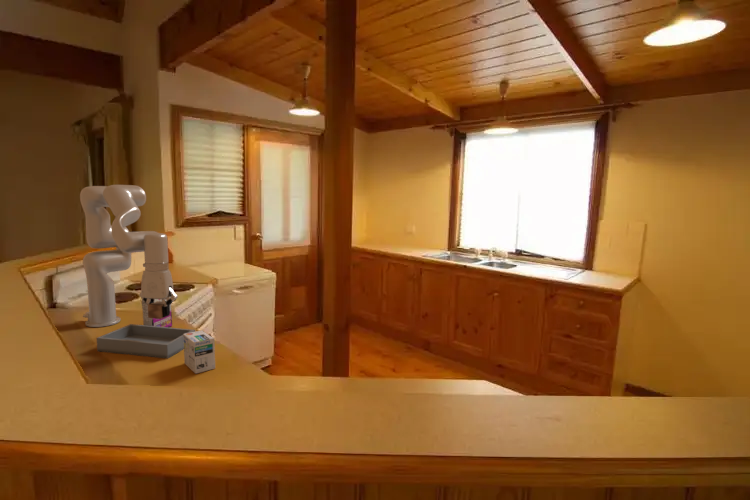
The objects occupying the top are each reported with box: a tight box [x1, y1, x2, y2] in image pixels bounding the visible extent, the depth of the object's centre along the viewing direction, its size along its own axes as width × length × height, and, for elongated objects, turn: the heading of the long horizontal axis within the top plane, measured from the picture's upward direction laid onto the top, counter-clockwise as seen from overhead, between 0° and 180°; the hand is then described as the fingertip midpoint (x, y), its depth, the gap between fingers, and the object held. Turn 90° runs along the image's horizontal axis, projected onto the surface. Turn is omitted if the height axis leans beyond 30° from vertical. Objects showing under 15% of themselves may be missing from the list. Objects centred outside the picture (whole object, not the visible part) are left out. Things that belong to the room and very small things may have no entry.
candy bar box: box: [141, 297, 173, 328], centre depth 163 cm, size 11×5×16 cm, turn 168°
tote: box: [96, 323, 196, 360], centre depth 146 cm, size 28×16×5 cm, turn 81°
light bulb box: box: [183, 329, 216, 374], centre depth 131 cm, size 11×7×11 cm, turn 44°
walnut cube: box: [148, 301, 167, 319], centre depth 144 cm, size 5×5×5 cm
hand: (159, 315), depth 144 cm, fingers closed on walnut cube, 5 cm apart
